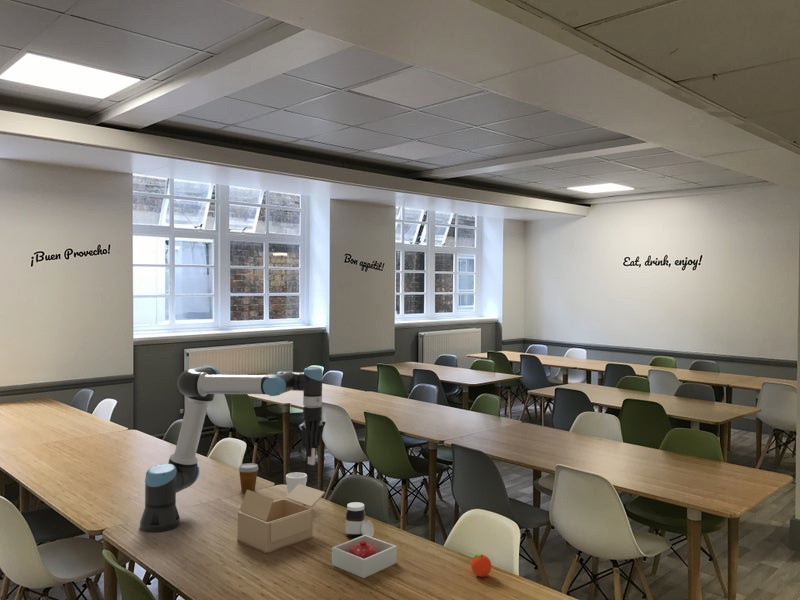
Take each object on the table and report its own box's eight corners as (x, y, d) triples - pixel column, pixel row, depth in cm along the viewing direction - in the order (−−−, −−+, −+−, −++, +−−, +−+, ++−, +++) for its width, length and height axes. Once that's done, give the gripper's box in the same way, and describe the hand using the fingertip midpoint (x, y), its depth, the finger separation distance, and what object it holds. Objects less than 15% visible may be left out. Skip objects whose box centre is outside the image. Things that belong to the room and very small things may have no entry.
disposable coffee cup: (238, 494, 295) (238, 468, 295) (237, 488, 304) (238, 463, 304) (258, 492, 298) (259, 467, 298) (257, 487, 307) (258, 462, 307)
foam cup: (302, 508, 277) (302, 478, 277) (282, 506, 279) (282, 477, 279) (309, 501, 286) (309, 473, 286) (290, 499, 288) (290, 471, 288)
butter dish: (353, 574, 212) (354, 549, 212) (341, 561, 222) (342, 537, 222) (384, 568, 217) (385, 544, 217) (371, 556, 227) (371, 532, 227)
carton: (267, 554, 227) (268, 523, 227) (236, 540, 239) (237, 511, 239) (313, 537, 243) (313, 509, 243) (282, 525, 256) (282, 498, 256)
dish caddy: (363, 578, 208) (364, 560, 208) (331, 564, 219) (332, 547, 219) (396, 562, 221) (396, 546, 221) (364, 550, 231) (365, 534, 231)
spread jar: (347, 529, 253) (347, 500, 253) (374, 530, 252) (375, 501, 252) (343, 540, 241) (343, 510, 241) (372, 541, 240) (373, 511, 240)
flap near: (266, 520, 228) (265, 520, 228) (240, 510, 238) (239, 510, 238) (274, 498, 231) (273, 498, 230) (248, 489, 241) (247, 489, 241)
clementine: (465, 577, 210) (465, 556, 210) (470, 569, 217) (470, 549, 217) (488, 581, 207) (489, 560, 207) (493, 573, 214) (493, 552, 214)
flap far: (324, 492, 250) (325, 492, 250) (298, 483, 260) (299, 484, 260) (311, 506, 244) (311, 507, 245) (285, 497, 255) (285, 498, 255)
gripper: (306, 409, 246) (304, 469, 246) (330, 405, 256) (329, 462, 256) (294, 406, 251) (292, 465, 251) (318, 403, 261) (317, 459, 261)
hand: (311, 464), depth 254 cm, fingers closed
